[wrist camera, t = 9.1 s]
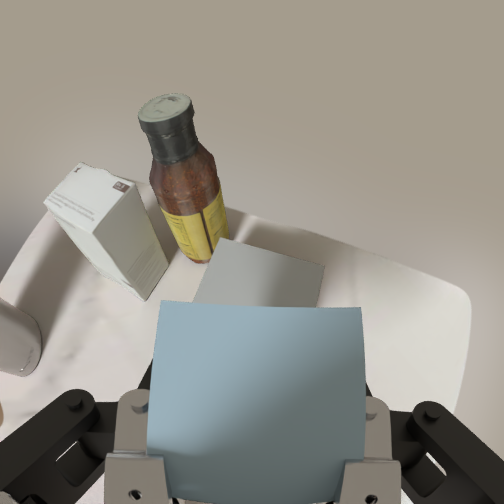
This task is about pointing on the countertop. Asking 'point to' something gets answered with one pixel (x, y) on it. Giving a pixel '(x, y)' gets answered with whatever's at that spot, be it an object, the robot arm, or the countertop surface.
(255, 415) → the blue block
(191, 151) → the sauce bottle
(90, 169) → the skincare box
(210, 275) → the block top
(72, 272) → the countertop surface
